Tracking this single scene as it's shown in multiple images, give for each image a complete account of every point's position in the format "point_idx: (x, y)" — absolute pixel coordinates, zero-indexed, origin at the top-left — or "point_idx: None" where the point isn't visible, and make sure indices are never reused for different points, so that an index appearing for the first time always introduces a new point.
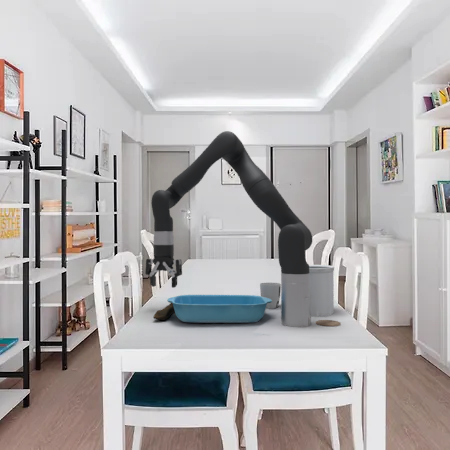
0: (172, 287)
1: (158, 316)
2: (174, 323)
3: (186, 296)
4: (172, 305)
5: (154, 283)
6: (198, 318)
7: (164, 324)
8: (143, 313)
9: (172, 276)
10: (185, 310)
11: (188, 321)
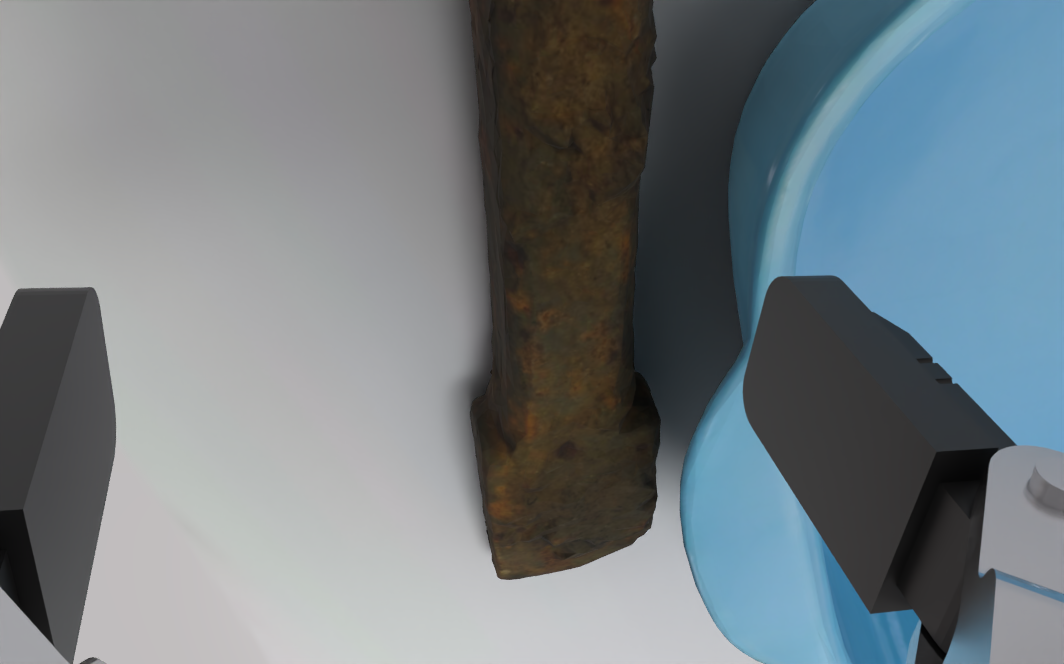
0: (756, 387)
1: (564, 565)
2: None
3: (946, 19)
4: (622, 196)
5: (91, 415)
6: None
7: (680, 618)
8: (49, 229)
9: (923, 651)
10: None
11: None
